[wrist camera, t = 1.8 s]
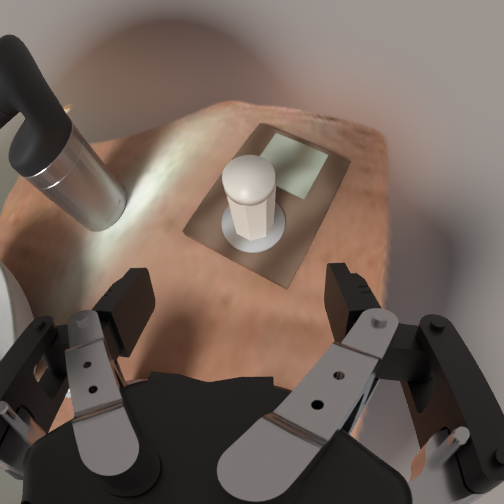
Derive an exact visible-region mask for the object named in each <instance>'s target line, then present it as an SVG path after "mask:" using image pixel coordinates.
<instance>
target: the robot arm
mask: <svg viewBox="0 0 504 504" xmlns="http://www.w3.org/2000/svg"><path fill="white" fill-rule="evenodd" d="M19 112H21V113H22V114H23V115H24V117H25V120H24V122H23V124H22V125H21V127H20V128H19V130H18V131H17V133H16V135H15V137H14V139H13V141H12V144H11V147H10V150H9V162H10V164H11V166H12V167H13V168H14V169H15V170H16V171H17V172H18V173H19V174H20V175H21V176H23V177H24V178H25V179H26V180H27V181H28V182H29V183H31V184H32V185H33V186H34V187H36V188H37V189H38V190H39V191H40V192H42V193H43V194H44V195H45V196H46V197H48V198H49V199H50V200H51V201H53V202H54V203H55V204H56V205H57V206H59V207H60V208H61V209H62V210H64V211H65V212H66V213H68V214H69V215H70V216H71V217H73V218H74V219H75V220H76V221H78V222H79V223H80V224H82V225H83V226H84V227H86V228H87V229H89V230H91V231H102V230H105V229H107V228H109V227H110V226H112V225H113V224H114V223H115V222H116V221H117V220H118V219H119V217H120V216H121V214H122V212H123V210H124V208H125V204H126V193H125V190H124V188H123V187H122V185H121V184H120V183H119V182H118V180H117V179H116V178H115V177H114V175H113V174H112V173H111V172H110V170H109V169H108V168H107V167H106V165H105V164H104V163H103V161H102V160H101V159H100V158H99V156H98V155H97V154H96V153H95V151H94V150H93V149H92V147H91V146H90V145H89V143H88V142H87V141H86V140H85V138H84V137H83V136H82V134H81V133H80V132H79V130H78V129H77V128H76V126H75V125H74V124H73V122H72V121H71V120H70V118H69V117H68V115H67V114H66V113H65V111H64V109H63V108H62V106H61V104H60V103H59V101H58V99H57V98H56V96H55V95H54V93H53V92H52V90H51V89H50V87H49V86H48V84H47V82H46V81H45V79H44V77H43V75H42V74H41V72H40V70H39V68H38V66H37V64H36V63H35V61H34V59H33V57H32V56H31V54H30V52H29V50H28V49H27V47H26V46H25V44H24V43H23V42H22V41H21V40H20V39H19V38H17V37H16V36H14V35H5V36H3V37H1V38H0V129H1V128H2V127H3V126H4V125H5V124H6V123H7V122H9V121H10V120H11V119H12V118H13V117H14V116H15V115H17V114H18V113H19ZM324 303H325V309H326V312H327V316H328V319H329V323H330V326H331V330H332V333H333V337H334V340H335V342H333V343H332V344H331V346H330V347H329V348H328V349H327V351H326V352H325V353H324V354H323V356H322V357H321V358H320V359H319V361H318V362H317V363H316V364H315V365H314V367H313V368H312V369H311V370H310V371H309V373H308V374H307V375H306V376H305V377H304V378H303V380H302V381H301V382H300V383H299V384H298V385H297V386H296V388H295V389H294V390H293V391H291V390H289V389H286V388H282V387H278V386H274V384H273V377H238V378H233V379H227V380H221V381H214V382H204V381H200V380H197V379H193V378H190V377H186V376H183V375H179V374H170V373H159V372H150V375H149V377H148V380H144V381H139V382H135V383H132V384H129V385H127V384H126V381H125V379H124V376H123V374H122V371H121V368H120V366H119V363H118V361H117V358H118V356H122V357H130V355H131V353H132V351H133V349H134V347H135V345H136V343H137V341H138V339H139V337H140V335H141V333H142V331H143V330H144V328H145V326H146V324H147V322H148V320H149V318H150V316H151V315H152V313H153V311H154V308H155V296H154V292H153V288H152V284H151V280H150V275H149V272H148V270H147V268H130V269H129V270H128V272H127V273H126V274H125V275H124V276H123V278H121V279H120V280H118V281H116V282H115V283H113V284H112V286H111V287H110V288H109V289H108V291H107V292H106V293H105V294H104V296H102V298H101V299H100V300H99V301H98V303H97V304H96V305H95V306H94V308H93V309H92V310H84V311H81V312H78V313H76V314H75V315H73V316H72V317H71V318H70V319H69V321H68V324H67V325H60V326H56V325H55V323H54V321H53V318H52V317H50V316H42V317H39V318H37V319H35V320H33V321H32V322H31V323H30V324H29V325H28V326H27V328H26V329H25V330H24V331H23V333H22V334H21V335H20V336H19V338H18V339H17V340H16V341H15V343H14V344H13V345H12V346H11V348H10V349H9V350H8V352H7V353H6V354H5V356H4V357H3V358H2V360H1V361H0V468H2V469H4V470H5V471H6V472H7V473H9V474H10V475H11V476H13V477H14V478H15V479H18V480H23V495H22V501H21V504H470V503H472V502H474V501H475V500H477V499H478V498H480V497H482V496H483V495H485V494H486V493H487V492H489V491H491V490H492V489H493V488H495V487H496V486H498V485H499V484H500V483H502V482H503V481H504V414H503V412H502V411H501V408H500V406H499V404H498V402H497V400H496V398H495V396H494V394H493V392H492V390H491V388H490V386H489V384H488V383H487V381H486V379H485V377H484V375H483V373H482V372H481V370H480V368H479V366H478V365H477V363H476V361H475V360H474V358H473V356H472V355H471V353H470V351H469V350H468V348H467V346H466V345H465V343H464V341H463V340H462V338H461V337H460V335H459V334H458V332H457V331H456V329H455V328H454V326H453V324H452V323H451V322H450V321H449V320H448V319H446V318H445V317H442V316H439V315H433V314H431V315H426V316H424V317H422V318H421V320H420V323H419V326H416V325H406V324H400V323H398V319H397V317H396V316H395V315H394V314H393V313H392V312H390V311H388V310H385V309H381V307H380V305H379V303H378V301H377V300H376V298H375V296H374V294H373V293H372V291H371V289H370V288H369V287H368V284H367V282H366V281H365V279H364V278H362V277H361V276H360V275H358V274H357V273H350V271H349V270H348V268H347V266H346V264H345V263H328V264H327V269H326V281H325V293H324ZM41 357H42V359H43V360H44V362H45V364H46V366H47V369H46V371H45V372H44V374H43V376H42V377H41V379H40V381H39V382H37V380H36V379H35V376H34V368H35V366H36V364H37V363H38V361H39V360H40V358H41ZM380 379H387V380H397V381H400V382H401V385H402V388H403V391H404V394H405V398H406V400H407V404H408V407H409V410H410V413H411V417H412V420H413V424H414V427H415V430H416V434H417V438H418V442H419V446H420V449H421V450H420V451H419V452H418V453H417V454H416V455H415V457H414V459H413V461H412V464H411V478H410V481H409V482H406V480H405V478H404V477H403V476H402V475H401V474H400V473H399V472H398V471H396V470H395V469H394V468H392V467H391V466H390V465H388V464H387V463H385V462H384V461H383V460H381V459H380V458H379V457H378V456H376V455H375V454H374V453H372V452H371V451H370V450H368V449H367V448H366V447H364V446H363V445H362V444H361V443H359V442H358V441H357V440H356V439H354V438H353V437H352V436H351V435H350V433H351V432H352V430H353V428H354V426H355V424H356V423H357V421H358V419H359V417H360V415H361V413H362V411H363V409H364V408H365V406H366V404H367V402H368V401H369V399H370V397H371V395H372V393H373V391H374V390H375V388H376V386H377V384H378V382H379V380H380ZM69 388H70V394H71V399H72V405H73V410H74V418H73V419H71V420H70V421H68V422H66V423H65V424H63V425H61V426H60V427H58V428H56V429H55V430H53V431H51V432H50V433H48V432H49V429H50V427H51V425H52V423H53V421H54V419H55V416H56V414H57V412H58V410H59V408H60V406H61V404H62V402H63V400H64V398H65V396H66V394H67V392H68V390H69Z"/></svg>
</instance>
